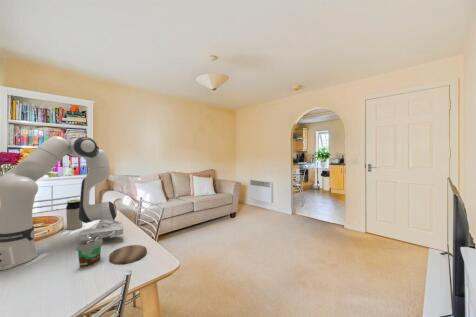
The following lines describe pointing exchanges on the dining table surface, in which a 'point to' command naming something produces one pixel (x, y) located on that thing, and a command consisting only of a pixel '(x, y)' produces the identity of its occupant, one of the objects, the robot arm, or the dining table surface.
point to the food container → (90, 251)
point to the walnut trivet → (127, 254)
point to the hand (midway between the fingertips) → (99, 237)
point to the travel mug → (73, 214)
